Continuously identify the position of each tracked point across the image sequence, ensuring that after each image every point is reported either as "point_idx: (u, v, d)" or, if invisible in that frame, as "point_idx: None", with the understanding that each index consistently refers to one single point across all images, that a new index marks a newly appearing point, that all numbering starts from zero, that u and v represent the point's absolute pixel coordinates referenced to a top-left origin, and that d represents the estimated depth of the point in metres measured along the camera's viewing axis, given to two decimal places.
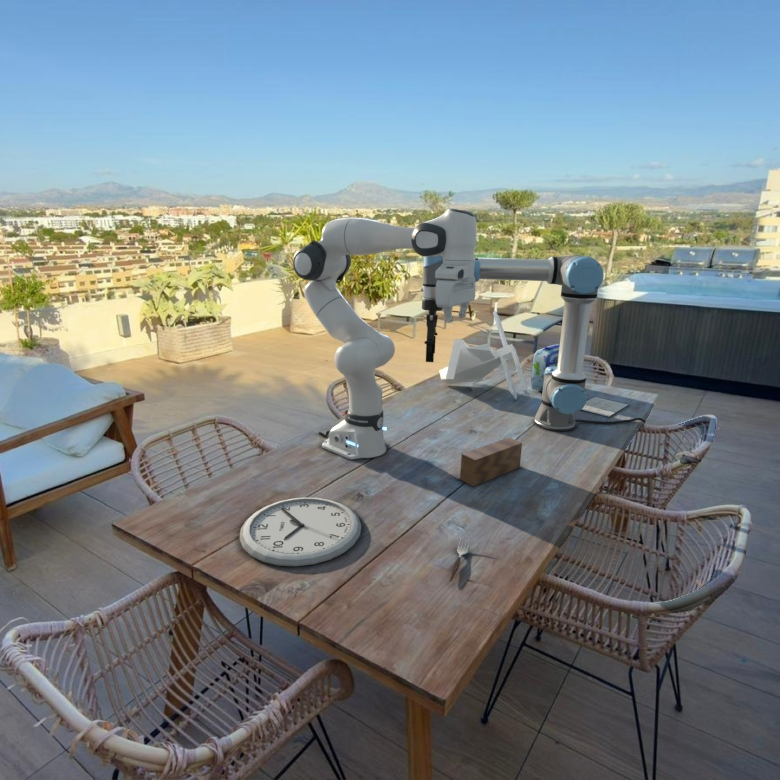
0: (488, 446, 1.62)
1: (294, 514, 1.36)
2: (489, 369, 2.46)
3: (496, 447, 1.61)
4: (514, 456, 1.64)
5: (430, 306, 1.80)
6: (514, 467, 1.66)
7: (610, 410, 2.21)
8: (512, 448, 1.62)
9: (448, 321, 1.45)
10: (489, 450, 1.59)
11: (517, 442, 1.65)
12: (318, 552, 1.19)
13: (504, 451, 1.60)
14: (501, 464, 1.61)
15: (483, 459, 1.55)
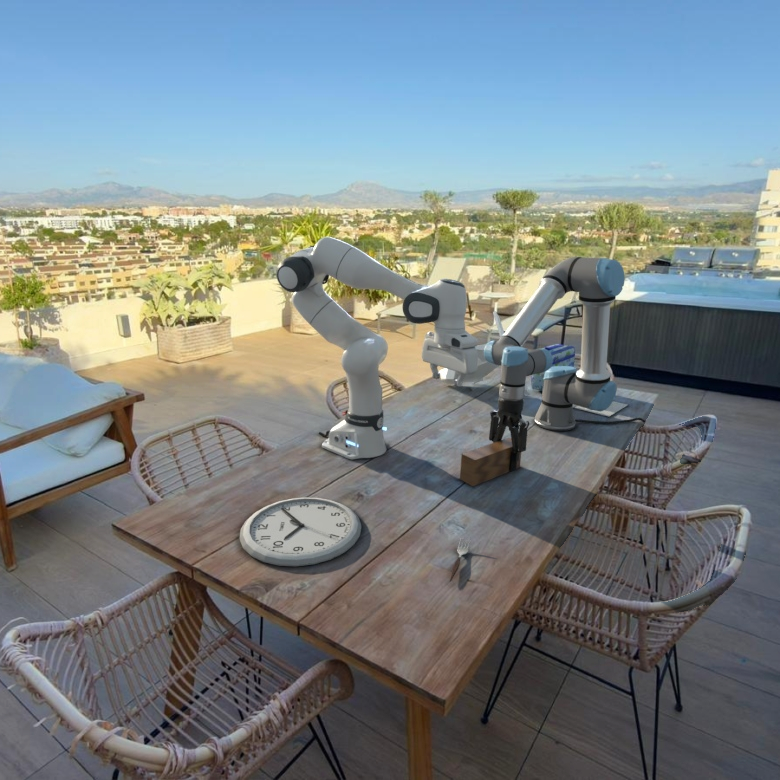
0: (488, 446, 1.62)
1: (294, 514, 1.36)
2: (489, 369, 2.46)
3: (496, 447, 1.61)
4: None
5: (519, 408, 1.58)
6: None
7: (610, 410, 2.21)
8: (512, 448, 1.62)
9: (460, 385, 1.52)
10: (489, 450, 1.59)
11: None
12: (318, 552, 1.19)
13: (504, 451, 1.60)
14: (501, 464, 1.61)
15: (483, 459, 1.55)
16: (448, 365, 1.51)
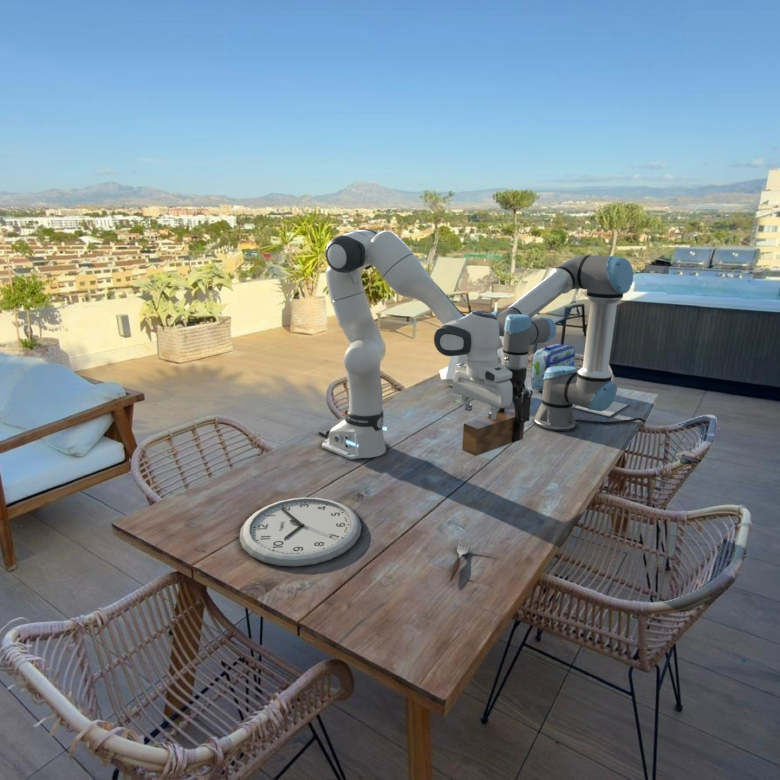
0: None
1: (294, 514, 1.36)
2: None
3: (499, 418, 1.58)
4: None
5: (522, 377, 1.55)
6: None
7: (610, 410, 2.21)
8: (515, 418, 1.59)
9: (494, 417, 1.49)
10: (491, 420, 1.56)
11: None
12: (318, 552, 1.19)
13: (507, 421, 1.57)
14: (504, 435, 1.58)
15: (486, 428, 1.52)
16: (482, 398, 1.48)
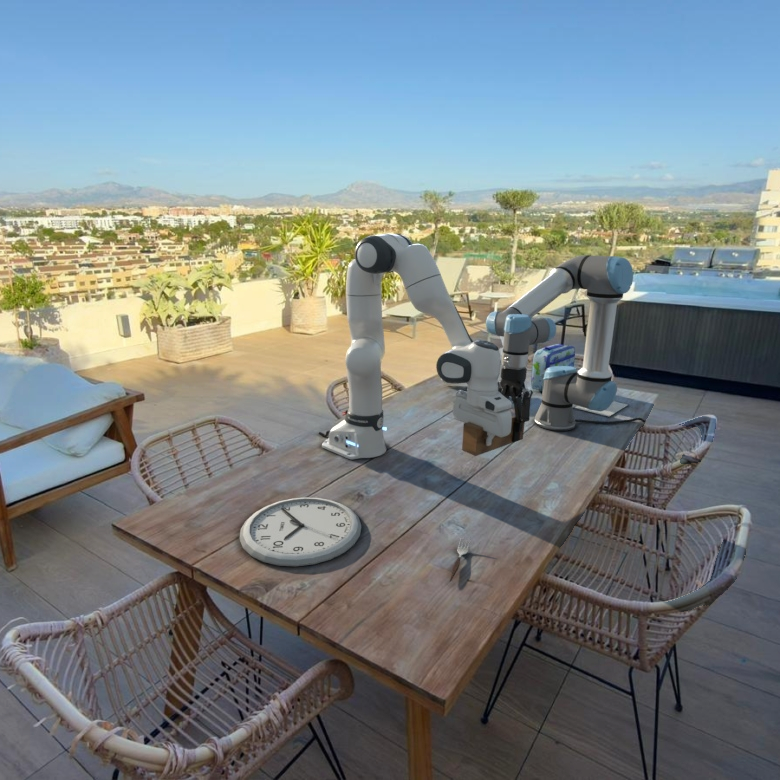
0: None
1: (294, 514, 1.36)
2: None
3: None
4: None
5: (522, 377, 1.55)
6: None
7: (610, 410, 2.21)
8: (515, 419, 1.59)
9: (489, 444, 1.52)
10: None
11: None
12: (318, 552, 1.19)
13: None
14: None
15: None
16: (481, 426, 1.51)
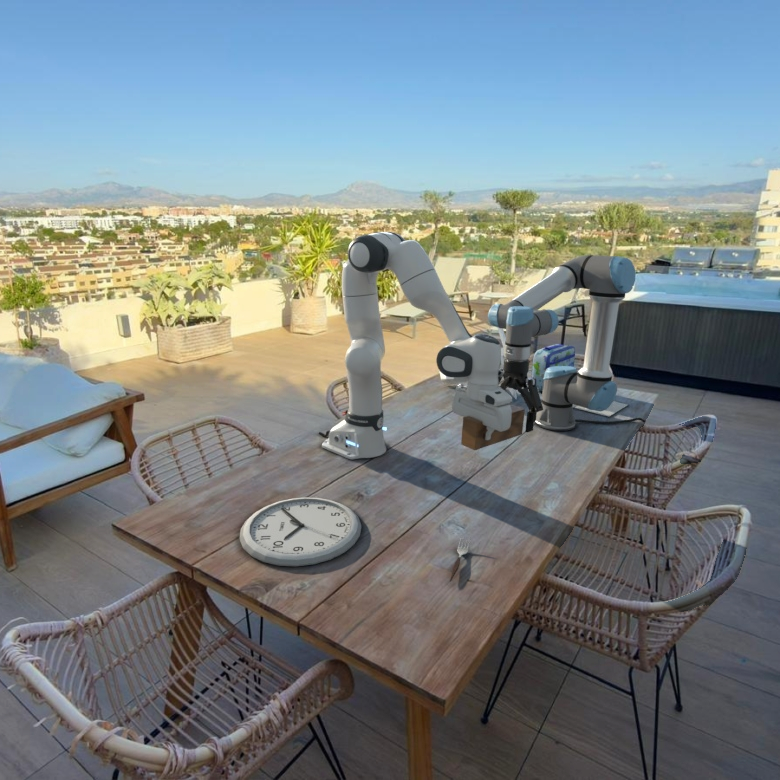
0: None
1: (294, 514, 1.36)
2: None
3: None
4: (516, 422, 1.61)
5: (525, 369, 1.55)
6: (516, 434, 1.62)
7: (610, 410, 2.21)
8: (515, 414, 1.59)
9: (489, 438, 1.52)
10: None
11: (520, 408, 1.62)
12: (318, 552, 1.19)
13: None
14: None
15: None
16: (481, 420, 1.50)
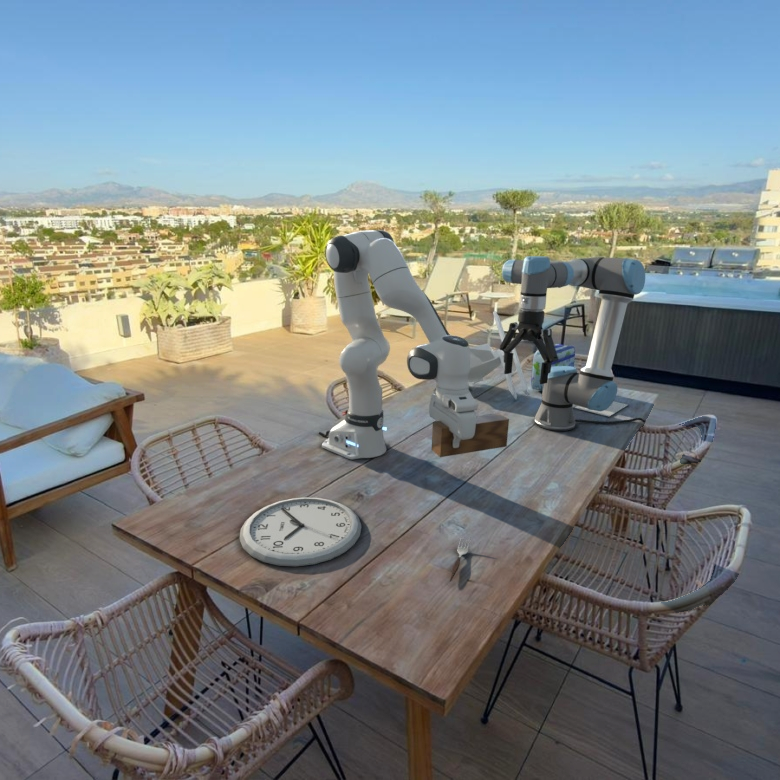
0: None
1: (294, 514, 1.36)
2: (489, 369, 2.46)
3: None
4: (497, 432, 1.49)
5: (540, 319, 1.53)
6: (498, 445, 1.51)
7: (610, 410, 2.21)
8: (495, 423, 1.48)
9: (457, 446, 1.43)
10: None
11: (504, 418, 1.50)
12: (318, 552, 1.19)
13: (483, 425, 1.46)
14: (479, 439, 1.47)
15: None
16: (448, 426, 1.42)
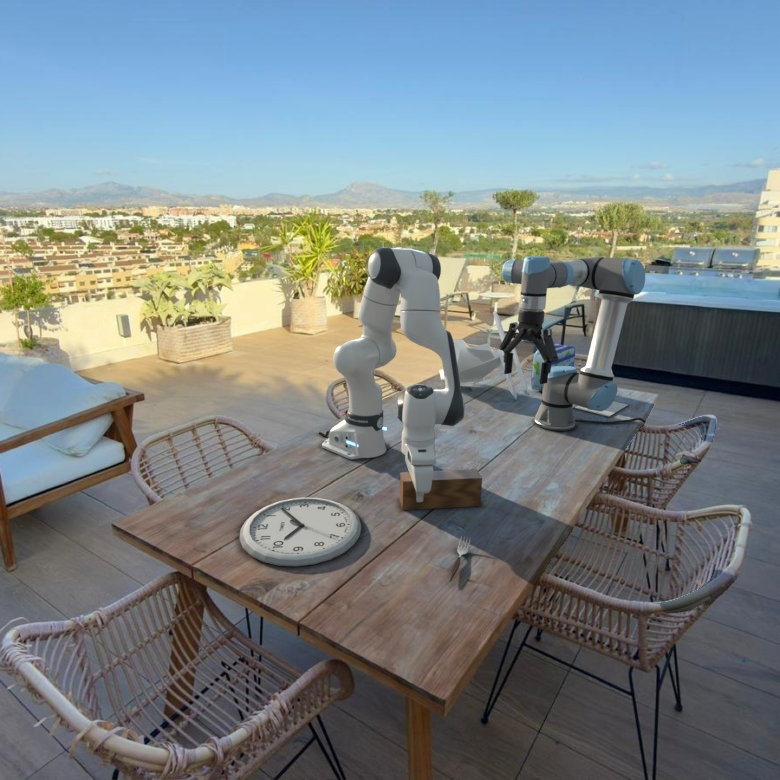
0: (439, 472, 1.44)
1: (294, 514, 1.36)
2: (489, 369, 2.46)
3: (445, 475, 1.42)
4: (468, 490, 1.42)
5: (540, 319, 1.53)
6: (470, 504, 1.43)
7: (610, 410, 2.21)
8: (465, 481, 1.41)
9: (420, 500, 1.38)
10: None
11: (477, 476, 1.42)
12: (318, 552, 1.19)
13: (451, 481, 1.40)
14: (447, 495, 1.42)
15: None
16: (411, 476, 1.39)
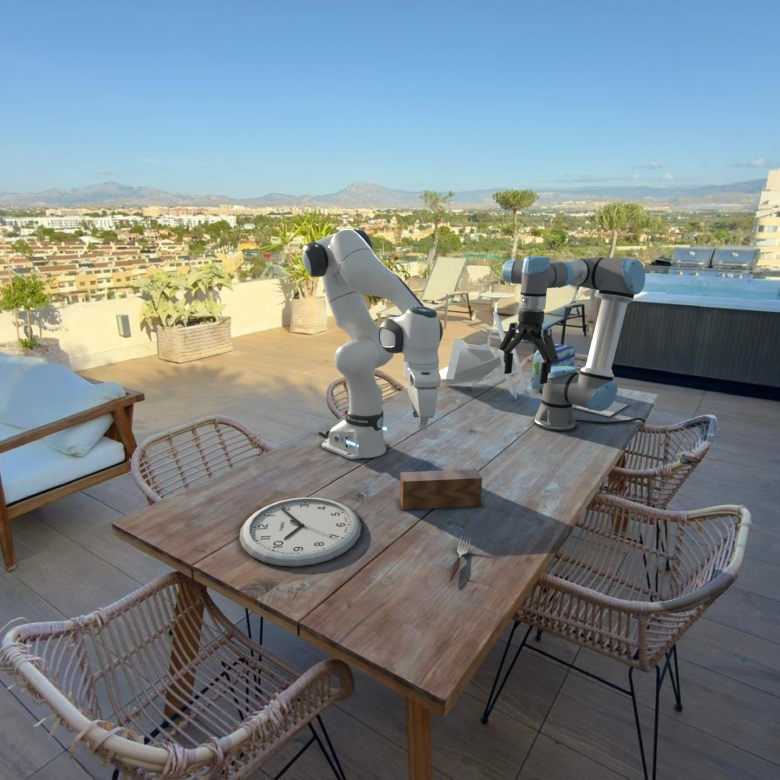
0: (439, 472, 1.44)
1: (294, 514, 1.36)
2: (489, 369, 2.46)
3: (445, 475, 1.42)
4: (468, 490, 1.42)
5: (540, 319, 1.53)
6: (470, 504, 1.43)
7: (610, 410, 2.21)
8: (465, 481, 1.41)
9: (423, 428, 1.32)
10: (432, 476, 1.42)
11: (477, 476, 1.42)
12: (318, 552, 1.19)
13: (451, 481, 1.40)
14: (447, 495, 1.42)
15: (416, 483, 1.39)
16: (414, 404, 1.33)
